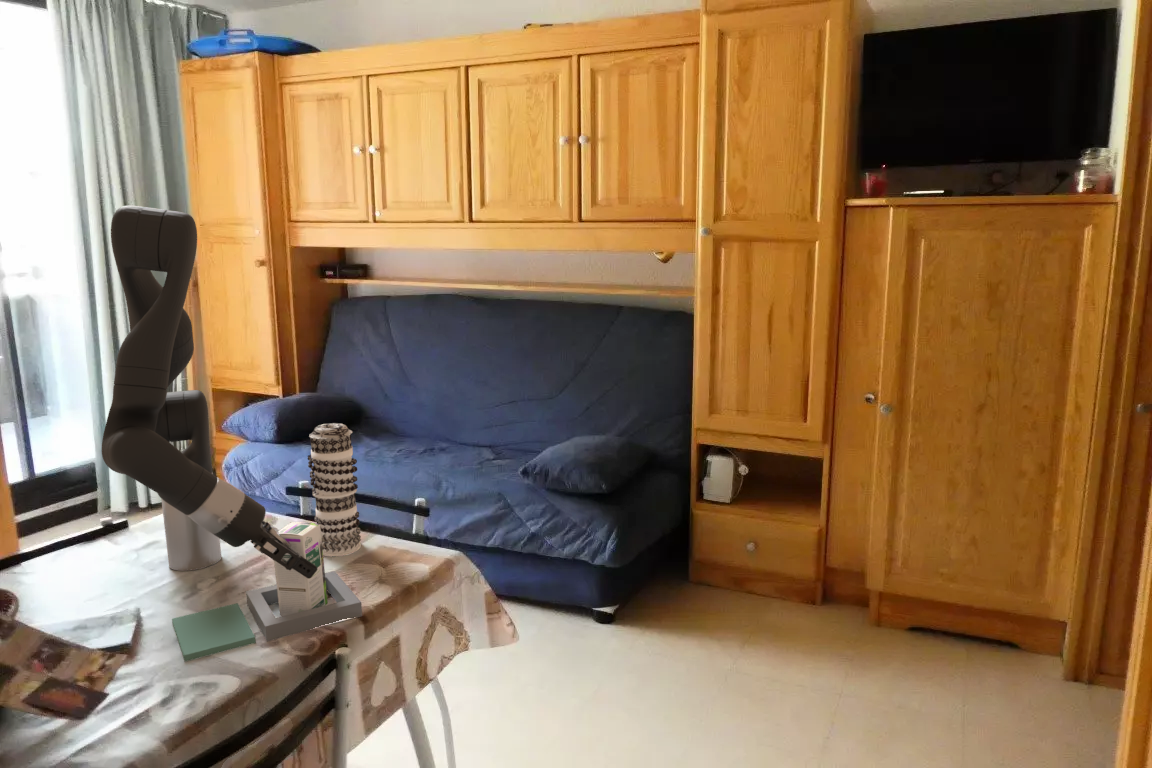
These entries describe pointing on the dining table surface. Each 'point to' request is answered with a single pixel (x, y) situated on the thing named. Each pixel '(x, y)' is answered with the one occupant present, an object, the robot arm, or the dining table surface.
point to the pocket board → (306, 619)
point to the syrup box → (291, 584)
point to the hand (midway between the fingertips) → (306, 564)
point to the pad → (212, 631)
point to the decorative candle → (335, 488)
